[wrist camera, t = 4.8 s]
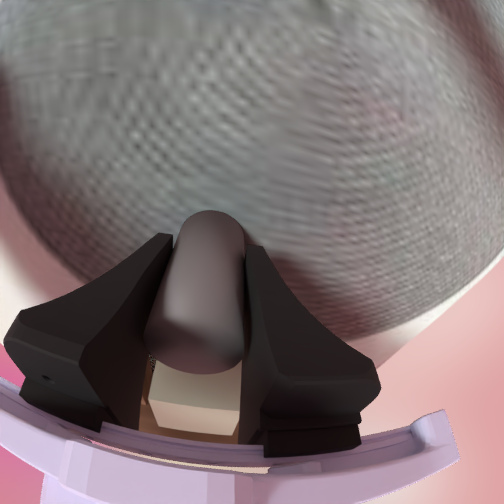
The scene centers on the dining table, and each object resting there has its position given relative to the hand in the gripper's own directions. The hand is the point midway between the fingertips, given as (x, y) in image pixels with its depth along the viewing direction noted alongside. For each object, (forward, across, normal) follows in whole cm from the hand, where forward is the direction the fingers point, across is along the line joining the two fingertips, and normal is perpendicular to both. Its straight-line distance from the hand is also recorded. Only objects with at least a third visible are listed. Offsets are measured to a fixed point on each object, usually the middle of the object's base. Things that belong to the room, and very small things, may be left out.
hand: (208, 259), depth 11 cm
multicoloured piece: (+2, 0, +5) cm, 5 cm away
